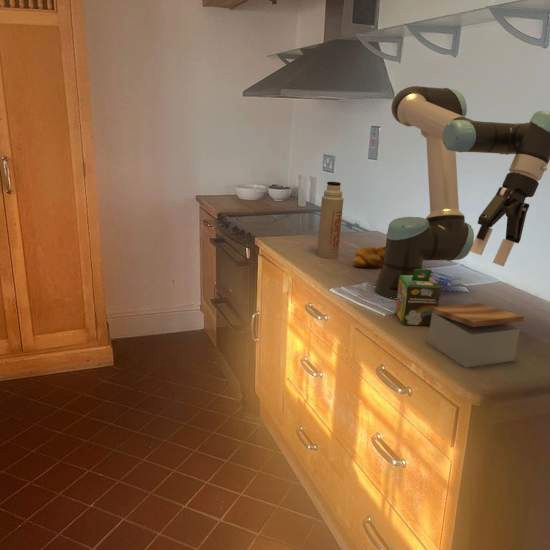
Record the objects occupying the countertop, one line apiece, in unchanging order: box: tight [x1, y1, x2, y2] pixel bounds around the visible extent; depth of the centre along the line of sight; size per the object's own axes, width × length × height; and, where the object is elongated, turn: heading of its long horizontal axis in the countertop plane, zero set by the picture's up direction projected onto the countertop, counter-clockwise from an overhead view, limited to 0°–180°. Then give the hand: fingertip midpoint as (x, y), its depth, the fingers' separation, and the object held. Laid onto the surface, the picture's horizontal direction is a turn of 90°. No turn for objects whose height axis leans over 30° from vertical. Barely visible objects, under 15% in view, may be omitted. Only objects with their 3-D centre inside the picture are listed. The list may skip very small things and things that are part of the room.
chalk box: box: [395, 268, 442, 327], centre depth 148 cm, size 9×9×15 cm
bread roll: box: [352, 246, 386, 269], centre depth 199 cm, size 13×10×8 cm
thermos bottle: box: [316, 181, 344, 260], centre depth 206 cm, size 8×8×28 cm
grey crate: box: [427, 313, 521, 368], centre depth 131 cm, size 14×14×8 cm
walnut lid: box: [431, 302, 525, 327], centre depth 130 cm, size 15×14×1 cm
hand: (487, 259), depth 134 cm, fingers open, 13 cm apart
